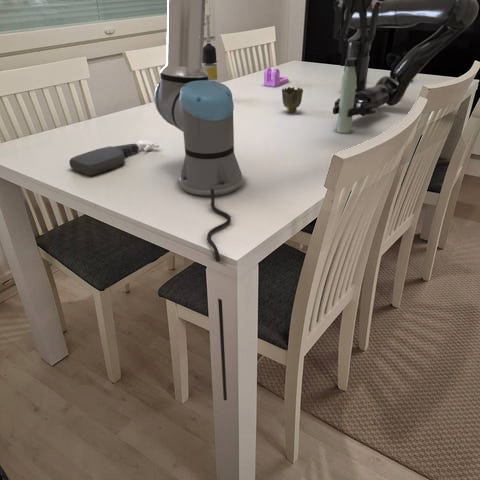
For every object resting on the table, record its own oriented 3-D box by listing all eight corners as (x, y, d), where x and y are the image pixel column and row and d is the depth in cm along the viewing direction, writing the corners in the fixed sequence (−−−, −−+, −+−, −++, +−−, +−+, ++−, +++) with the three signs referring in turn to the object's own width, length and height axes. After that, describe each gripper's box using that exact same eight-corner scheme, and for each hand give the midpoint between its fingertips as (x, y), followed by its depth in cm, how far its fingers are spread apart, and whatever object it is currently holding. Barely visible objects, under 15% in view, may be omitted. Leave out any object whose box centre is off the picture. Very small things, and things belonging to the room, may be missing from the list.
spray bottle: (67, 168, 120) (139, 144, 136) (91, 178, 114) (163, 151, 130) (65, 157, 118) (137, 134, 134) (89, 167, 112) (162, 142, 128)
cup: (277, 113, 160) (278, 90, 155) (285, 108, 165) (286, 85, 161) (297, 115, 157) (298, 92, 152) (304, 110, 162) (306, 87, 158)
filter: (220, 99, 177) (217, 15, 161) (206, 100, 176) (202, 16, 160) (215, 96, 182) (212, 14, 166) (202, 97, 180) (197, 14, 164)
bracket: (274, 86, 193) (275, 69, 190) (264, 85, 196) (264, 68, 193) (290, 81, 202) (291, 64, 198) (279, 79, 205) (280, 63, 201)
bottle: (335, 132, 142) (342, 61, 130) (338, 128, 145) (346, 58, 134) (348, 134, 140) (356, 62, 129) (352, 129, 143) (360, 59, 132)
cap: (356, 67, 130) (356, 60, 129) (342, 66, 131) (342, 59, 130) (359, 64, 133) (360, 57, 132) (345, 63, 134) (346, 56, 133)
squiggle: (400, 92, 202) (376, 71, 205) (417, 76, 202) (392, 56, 205) (405, 81, 191) (380, 59, 194) (423, 64, 191) (397, 42, 194)
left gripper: (325, -26, 121) (319, 65, 133) (388, -26, 113) (375, 70, 126) (335, -27, 126) (328, 61, 138) (396, -27, 119) (382, 66, 131)
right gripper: (349, 86, 150) (322, 96, 139) (389, 92, 142) (364, 103, 131) (346, 108, 154) (320, 120, 143) (385, 115, 146) (361, 128, 135)
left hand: (350, 65), depth 132 cm, fingers closed on cap, 4 cm apart
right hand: (341, 112), depth 137 cm, fingers closed on bottle, 4 cm apart
